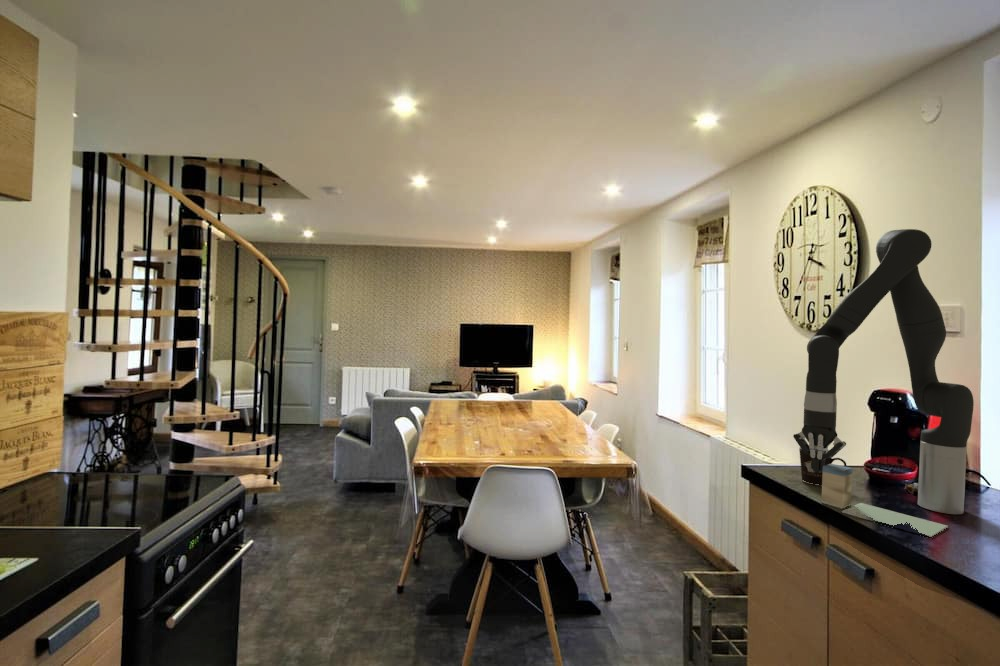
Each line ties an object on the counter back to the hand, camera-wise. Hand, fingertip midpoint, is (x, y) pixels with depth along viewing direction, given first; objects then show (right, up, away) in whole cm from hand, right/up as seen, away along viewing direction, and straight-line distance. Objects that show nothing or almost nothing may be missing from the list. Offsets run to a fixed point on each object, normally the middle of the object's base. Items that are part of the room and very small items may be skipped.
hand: (817, 471), depth 139 cm
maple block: (+2, -8, -4) cm, 9 cm away
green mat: (+9, -8, -14) cm, 19 cm away
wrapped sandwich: (+36, -9, +6) cm, 38 cm away
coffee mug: (+9, -8, +14) cm, 19 cm away
